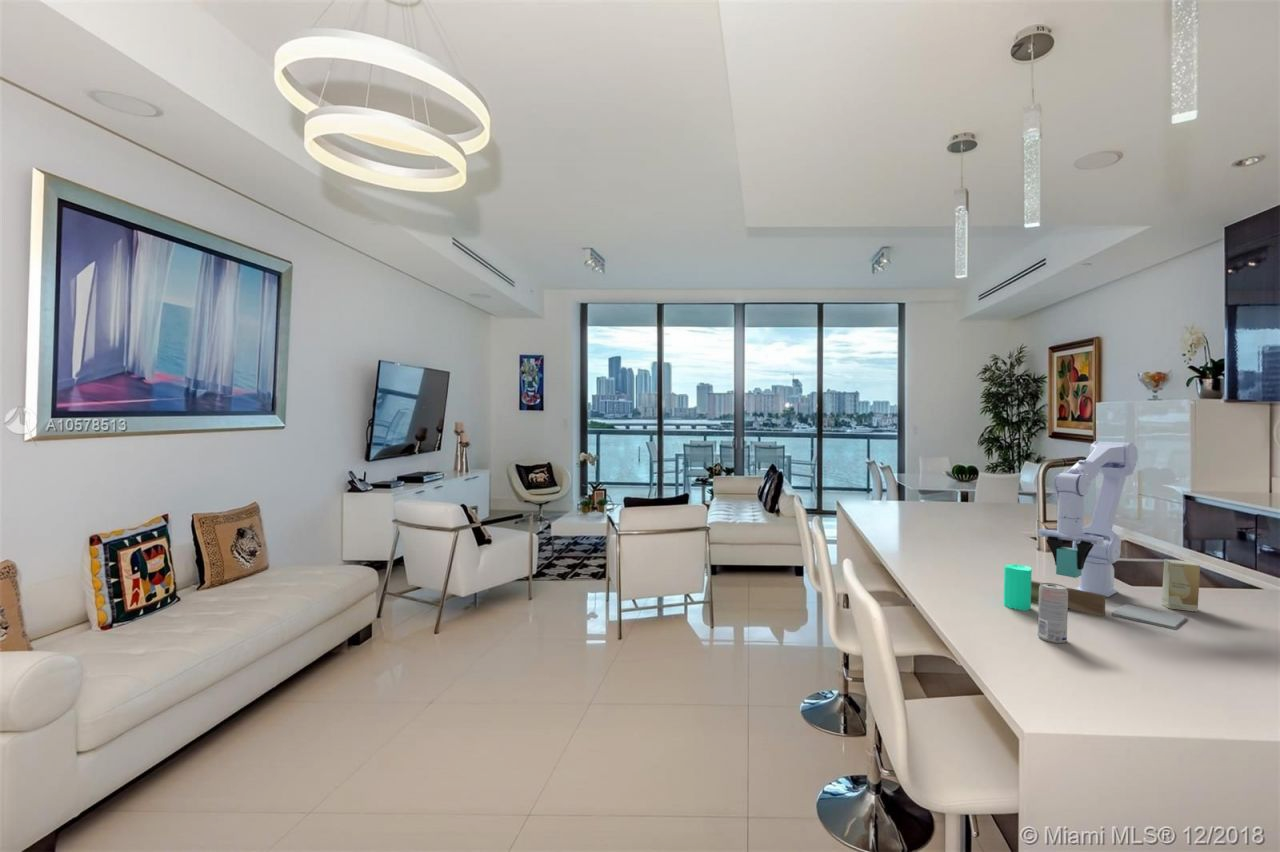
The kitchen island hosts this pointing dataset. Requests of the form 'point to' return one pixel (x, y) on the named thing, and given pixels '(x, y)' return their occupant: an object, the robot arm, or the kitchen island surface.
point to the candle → (1017, 586)
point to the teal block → (1067, 562)
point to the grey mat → (1149, 616)
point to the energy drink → (1053, 612)
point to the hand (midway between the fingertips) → (1069, 567)
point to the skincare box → (1180, 585)
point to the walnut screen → (1077, 600)
